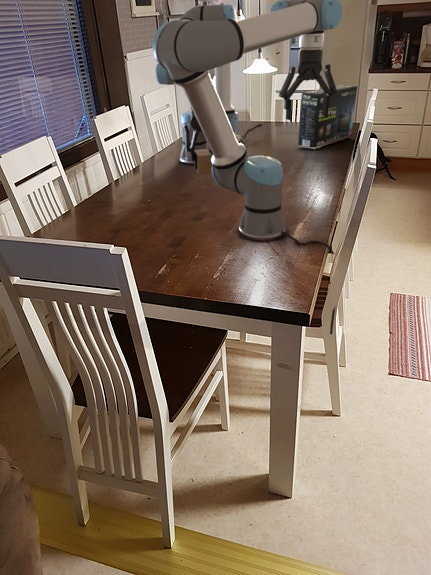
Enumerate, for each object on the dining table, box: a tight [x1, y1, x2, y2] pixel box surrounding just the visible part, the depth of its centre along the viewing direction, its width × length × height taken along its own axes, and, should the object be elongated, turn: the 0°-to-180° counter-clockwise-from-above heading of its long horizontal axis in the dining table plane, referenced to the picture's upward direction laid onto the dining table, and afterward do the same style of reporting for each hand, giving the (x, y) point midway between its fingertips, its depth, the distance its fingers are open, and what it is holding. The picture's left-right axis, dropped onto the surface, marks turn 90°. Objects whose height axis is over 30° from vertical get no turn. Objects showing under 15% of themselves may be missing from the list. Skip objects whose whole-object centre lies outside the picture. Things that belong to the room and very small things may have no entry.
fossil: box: [235, 131, 246, 143], centre depth 251 cm, size 18×11×15 cm
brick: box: [193, 149, 212, 175], centre depth 180 cm, size 8×6×7 cm, turn 14°
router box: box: [297, 84, 358, 151], centre depth 238 cm, size 36×11×27 cm, turn 134°
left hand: (203, 167), depth 181 cm, fingers closed on brick, 6 cm apart
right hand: (306, 117), depth 159 cm, fingers open, 13 cm apart
